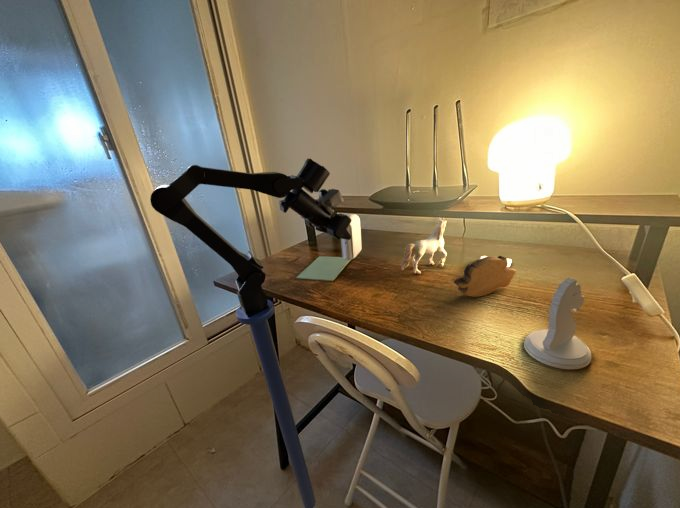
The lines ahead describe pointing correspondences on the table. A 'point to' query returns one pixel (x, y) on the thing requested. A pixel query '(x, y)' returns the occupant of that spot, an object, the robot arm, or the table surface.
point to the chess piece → (561, 332)
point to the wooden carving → (485, 276)
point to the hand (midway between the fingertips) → (346, 236)
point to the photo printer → (352, 239)
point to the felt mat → (324, 268)
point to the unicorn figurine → (426, 248)
